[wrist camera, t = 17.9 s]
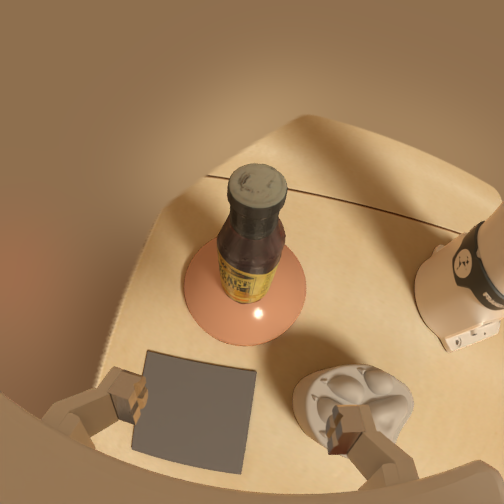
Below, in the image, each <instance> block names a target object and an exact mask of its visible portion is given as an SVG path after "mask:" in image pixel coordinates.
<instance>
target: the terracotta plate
mask: <svg viewBox="0 0 504 504" xmlns="http://www.w3.org/2000/svg"><path fill="white" fill-rule="evenodd" d="M184 293H185V299H186V303H187V306H188V308H189V311H190V313H191V314H192V316H193V318H194V319H195V321H196V322H197V323H198V325H199V326H200V327H201V328H202V329H203V330H204V331H205V332H206V333H208V334H209V335H211V336H212V337H214V338H215V339H217V340H219V341H222V342H224V343H227V344H231V345H236V346H254V345H260V344H263V343H266V342H269V341H271V340H273V339H275V338H277V337H279V336H280V335H282V334H283V333H284V332H285V331H286V330H288V329H289V328H290V326H291V325H292V324H293V323H294V322H295V320H296V319H297V317H298V316H299V314H300V312H301V310H302V307H303V305H304V301H305V296H306V280H305V275H304V272H303V269H302V266H301V264H300V262H299V261H298V259H297V257H296V256H295V255H294V253H293V252H292V251H291V250H290V249H289V248H288V247H287V246H286V245H284V248H283V250H282V255H281V259H280V261H279V264H278V267H277V270H276V272H275V275H274V278H273V280H272V283H271V285H270V288H269V290H268V292H267V293H266V295H265V296H264V297H262V299H261V300H259V301H257V302H255V303H251V304H240V303H238V302H235V301H233V300H232V299H231V298H229V297H228V296H227V295H226V293H225V291H224V289H223V287H222V284H221V278H220V271H219V262H218V252H217V237H216V238H214V239H212V240H211V241H209V242H208V243H206V244H205V245H204V246H203V247H202V248H201V249H200V250H199V251H198V252H197V253H196V254H195V256H194V257H193V259H192V260H191V262H190V264H189V266H188V269H187V272H186V275H185V281H184Z"/></svg>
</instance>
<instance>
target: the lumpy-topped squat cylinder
mask: <svg viewBox="0 0 504 504" xmlns="http://www.w3.org/2000/svg"><path fill="white" fill-rule="evenodd" d="M292 403H293V411H294V415H295V417H296V419H297V421H298V423H299V425H300V427H301V428H302V430H303V432H304V433H305V434H306V435H307V436H309V437H310V438H311V439H313V440H314V441H316V442H317V443H319V444H320V445H322V446H323V447H325V448H326V449H328V447H327V442H328V441H329V438H328V437H327V436H326V422H327V419H328V417H329V416H330V415H332V414H333V413H332V409H333V407H334V406H335V405H367V404H368V405H369V407H370V410H371V414H372V417H373V420H374V423H375V427H376V430H377V431H380V432H381V433H382V434H384V435H385V436H386V437H387V438H388V439H390V440H391V441H392V442H393V443H394V444H395V443H396V441H397V438H398V435H399V433H400V431H401V429H402V428H403V426H404V425H405V423H406V422H407V420H408V419H409V417H410V415H411V413H412V411H413V407H414V401H413V397H412V394H411V392H410V390H409V388H408V387H407V386H406V385H405V384H403V383H402V382H401V381H399V380H398V379H396V378H395V377H394V376H392V375H390V374H388V373H387V372H384V371H382V370H380V369H378V368H376V367H374V366H371V365H367V364H350V365H341V366H336V367H332V368H328V369H324V370H320V371H317V372H314V373H311V374H309V375H307V376H306V377H304V378H303V379H301V380H300V381H299V383H298V384H297V385H296V387H295V389H294V392H293V398H292ZM346 455H347V454H346ZM346 455H340V456H342V457H345V458H348V457H347V456H346ZM348 459H349V458H348Z"/></svg>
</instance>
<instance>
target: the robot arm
mask: <svg viewBox="0 0 504 504" xmlns="http://www.w3.org/2000/svg"><path fill="white" fill-rule="evenodd" d="M415 298H416V303H417V306H418V309H419V312H420V314H421V316H422V318H423V320H424V322H425V323H426V325H427V326H428V327H429V328H430V329H431V330H432V331H433V332H434V333H435V334H436V335H437V336H438V337H439V338H440V340H441V342H442V344H443V346H444V348H445V349H446V351H447V352H454V351H457V350H459V349H462V348H465V347H467V346H470V345H473V344H475V343H478V342H480V341H483V340H485V339H487V338H490V337H492V336H494V335H496V334H497V333H498V332H499V328H500V321H501V320H502V319H504V201H503V202H502V203H501V205H500V206H499V207H498V208H497V209H496V211H495V212H494V213H493V214H492V215H491V216H490V217H489V218H488V219H487V220H486V221H482V222H480V223H479V224H478V225H476V226H474V227H473V228H472V229H471V230H470V232H469V233H468V234H467V233H462V234H461V235H459V236H458V237H456V238H455V239H454V240H452V241H451V242H450V243H448V244H447V245H445V246H444V245H438V246H437V247H436V248H435V249H434V251H433V254H432V256H431V257H430V258H429V259H428V260H426V261H425V262H424V263H423V264H422V265H421V266H420V268H419V270H418V272H417V275H416V279H415ZM145 384H146V378H145V377H144V376H142V375H139V374H136V373H133V372H130V371H127V370H124V369H121V368H118V367H115V366H114V367H113V368H111V370H110V371H109V372H108V374H107V375H106V376H105V378H104V379H103V380H102V382H101V383H100V385H99V386H98V387H97V389H96V388H92V389H89V390H87V391H85V392H82V393H79V394H77V395H74V396H71V397H69V398H66V399H63V400H61V401H58V402H55V403H54V404H53V405H52V406H51V407H50V409H49V410H48V411H47V413H46V414H45V415H44V417H43V418H42V419H41V420H40V419H38V418H37V417H35V416H34V415H32V414H31V413H29V412H27V411H26V410H25V409H23V408H22V407H20V406H19V405H17V404H16V403H15V402H13V401H12V400H11V399H10V398H8V397H7V396H6V395H4V394H3V393H2V392H1V391H0V504H504V481H503V479H502V477H501V474H500V473H499V471H498V470H496V469H495V468H493V467H492V466H490V465H489V464H487V463H485V462H483V461H481V460H475V461H472V462H469V463H467V464H464V465H462V466H459V467H456V468H453V469H451V470H448V471H445V472H442V473H439V474H435V475H432V476H429V477H425V478H421V479H419V477H418V474H417V470H416V467H415V464H414V461H413V458H412V457H410V456H409V455H408V454H407V453H405V452H404V451H403V450H402V449H400V448H399V447H398V446H397V445H396V444H394V443H393V442H392V441H391V440H390V439H388V438H387V437H386V436H385V435H384V434H382V433H381V432H380V431H377V430H376V427H375V423H374V420H373V417H372V414H371V410H370V407H369V405H368V404H367V405H335V406H334V407H333V409H332V413H333V414H332V415H330V416H329V417H328V419H327V422H326V436H327V437H328V438H329V441H328V442H327V447H328V455H346V454H347V455H346V456H347V457H348V458H349V459H350V460H351V462H352V463H353V464H354V465H355V466H356V468H357V469H358V470H359V471H360V472H361V474H362V475H363V476H364V477H365V478H366V480H367V481H366V482H365V483H364V484H363V485H362V486H361V487H360V488H359V489H358V491H352V492H341V493H327V494H274V493H260V492H249V491H241V490H233V489H226V488H220V487H214V486H209V485H203V484H199V483H194V482H189V481H185V480H181V479H177V478H173V477H170V476H166V475H163V474H159V473H156V472H153V471H149V470H146V469H143V468H140V467H137V466H135V465H132V464H129V463H126V462H124V461H121V460H119V459H116V458H114V457H111V456H109V455H107V454H104V453H102V452H100V451H97V450H95V449H96V448H95V445H94V444H93V442H92V440H91V439H90V437H92V436H93V435H95V434H97V433H98V432H100V431H102V430H103V429H105V428H107V427H108V426H110V425H112V424H113V423H115V422H117V421H118V419H119V420H122V421H125V422H128V423H131V424H134V425H136V423H137V421H138V419H139V417H140V415H141V413H140V410H141V409H143V408H144V407H145V405H146V403H147V399H148V389H147V388H146V387H145Z"/></svg>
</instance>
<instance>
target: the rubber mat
mask: <svg viewBox="0 0 504 504" xmlns="http://www.w3.org/2000/svg"><path fill="white" fill-rule="evenodd" d="M256 374H257V372H254V371H247V370H240V369H233V368H227V367H221V366H215V365H209V364H204V363H198V362H193V361H188V360H184V359H179V358H174V357H170V356H166V355H161V354H157V353H153V352H149V351H148V352H147V357H146V362H145V367H144V372H143V376H144V377H145V378H146V384H145V387H146V388H147V389H148V399H147V403H146V405H145V407H144V408H143V409H141V410H140V413H141V415H140V417H139V419H138V421H137V423H136V425H135V427H134V434H133V442H132V450H135V451H138V452H141V453H144V454H148V455H151V456H154V457H158V458H161V459H165V460H168V461H172V462H176V463H180V464H184V465H189V466H193V467H198V468H203V469H208V470H214V471H220V472H226V473H233V474H241V471H242V465H243V459H244V453H245V447H246V441H247V434H248V428H249V421H250V415H251V408H252V401H253V394H254V388H255V381H256Z"/></svg>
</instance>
